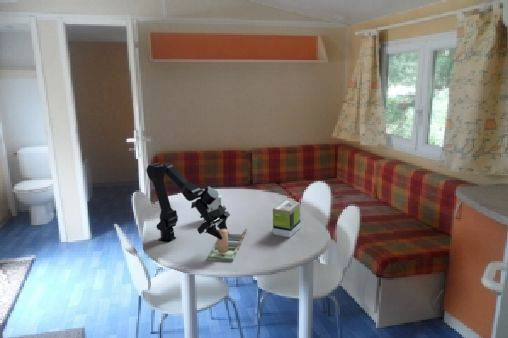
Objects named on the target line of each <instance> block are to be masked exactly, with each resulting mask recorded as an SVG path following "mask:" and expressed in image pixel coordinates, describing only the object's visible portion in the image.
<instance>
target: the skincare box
mask: <svg viewBox="0 0 508 338" xmlns="http://www.w3.org/2000/svg"><path fill="white" fill-rule="evenodd" d="M223 200H224V197H223V194H219V196H218V198H217V199H216V200H215V201H214V202H213V203H212V204H210V205H209V206H210V207H211V208H212V207H214V208H215V209H217V208H218V206H219V205H221V204H223V205H224V203H223Z"/></svg>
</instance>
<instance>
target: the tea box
mask: <svg viewBox="0 0 508 338" xmlns="http://www.w3.org/2000/svg"><path fill="white" fill-rule="evenodd" d="M301 213H302V212H301V202H299V201H298V202H297V201H292V200H286V199H285V200H283V201H281V202H280V203H279V204H278V205H276V206H275V207H273V208H272V234H273V235H275V236H279V237H280V236H281V237H284V238H291V237H292V236H293V235H294V234H295V233H297V231H298V230H299V229H300V228H301V224H302V221H301V220H302V219H301Z"/></svg>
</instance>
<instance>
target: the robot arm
mask: <svg viewBox="0 0 508 338" xmlns="http://www.w3.org/2000/svg"><path fill="white" fill-rule="evenodd" d="M145 171H146V173H147V177H148V179H149V180H150V181H151V182H152V183H153V187H154V190H155V192H156V197H157V201H158V204H159V208H160V214H159V222H158V223H157V224H156V225H155V226H156V227H155V228H157V230H158V231H159V232H160V237H159V238H158V241H161V242H165V243H169V242H171V241H173V240H175V239H177V237H176V236H175V231H174V227H176V226H177V223H178V222H179V215H178V212H177V210H176V209H173V208H172V207H171V206H172V205H171V203H170V199H169V195H168V192H167V188H166V185H165V181H164V179H165V176H167V177H168V178H169V179H170V180H171V181H173V183H174V184H175V185H176V186H177V187H179V189H180V190H181V194H182V196H183V197H184V199H186V200H187V201H188V202H191V207H190V208H191V209H194V208H195V209H196V210H197V212H198V213H199V214H200V216H199V218H200V219H203V220H204V221H203V222H202V223H201V224H200V225H199V226H198V227H197V228H196V229H197V233H198V234H199V235H201V234H203V233H205V234H209V235H211V236H213V237H215V238H218V239H220V240H221V239H222V236H221V235H220V233H219V232H218V229H227V230H228V227H227V220H228V218H229V217H230V216H231V214H230V213H229V211H226V210H227V207H226V205H224V203H223V204H221V205H219V206H218V208H217V209H215V208H214V207H212V208H211V207H210V206H209V205H210V204H212V203H213V202H214V201H215V200H216V199H217V198H218V196H219V195H220V194H219V192H218V190H216V189H215V188H213V187H211V186H210V185H209V186H206V187H205V189H201V188H200V187H199V186H197V185H196V184H195V183H192V182H190V181H188V179H186V177H184V176H183V175H182V174H181V173H180V172H179V171H178V170H177V169H176V167H174V165H173V164H172V163H163V164H162V163H161V162H157V163H153V164H149V165H147V167H146V169H145ZM217 228H218V229H217ZM228 231H229V230H228ZM229 234H230V233H229V232H228V235H229ZM218 239H217V240H218Z"/></svg>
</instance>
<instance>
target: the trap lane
mask: <svg viewBox="0 0 508 338" xmlns="http://www.w3.org/2000/svg"><path fill="white" fill-rule="evenodd" d="M247 231H248V229H247V228H244V230H243V232H242V234H240V233H239V234H237V233H229V235H228V252H226V253H219V252H218V240H216V243H214V246H213V247H212V249H211V251H210V252H209V254H208V256H207V260H208V261H219V262H232V263H233V262H234V260H235V258H236V255H237V254H238V251H239V250H240V248H241V246H242V242H243V240H244V238H245V236H246V234H247V233H248V232H247ZM230 241H231V242H230ZM234 241H235V242H234Z"/></svg>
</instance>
